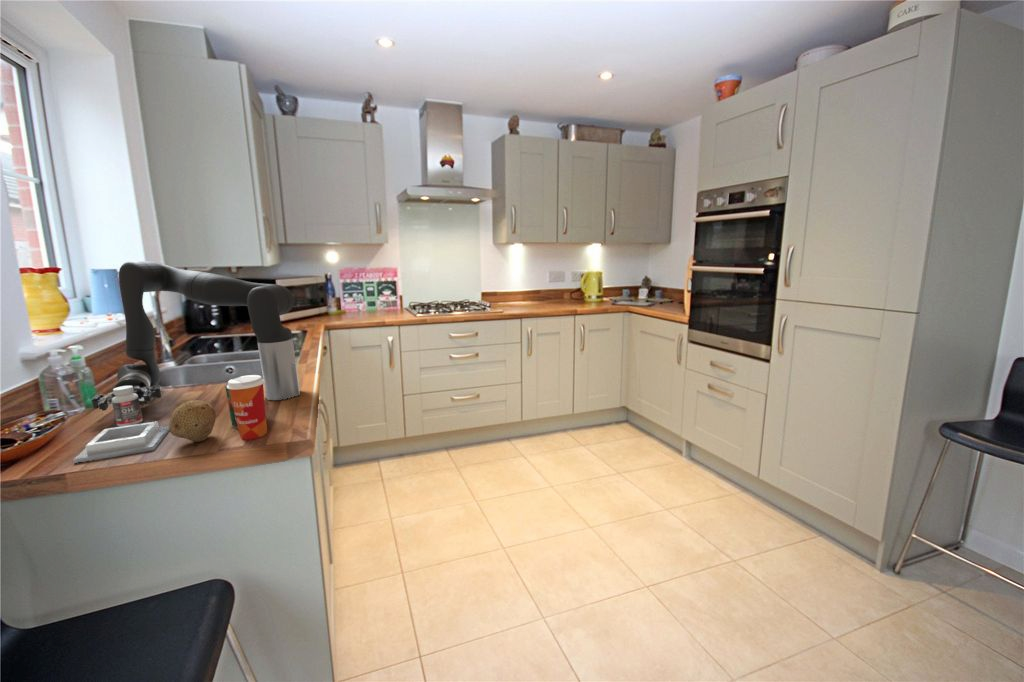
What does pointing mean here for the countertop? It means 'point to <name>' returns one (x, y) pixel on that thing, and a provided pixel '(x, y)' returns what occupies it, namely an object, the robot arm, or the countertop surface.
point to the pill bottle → (126, 406)
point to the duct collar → (123, 441)
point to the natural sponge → (193, 420)
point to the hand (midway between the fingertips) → (124, 403)
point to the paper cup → (248, 405)
